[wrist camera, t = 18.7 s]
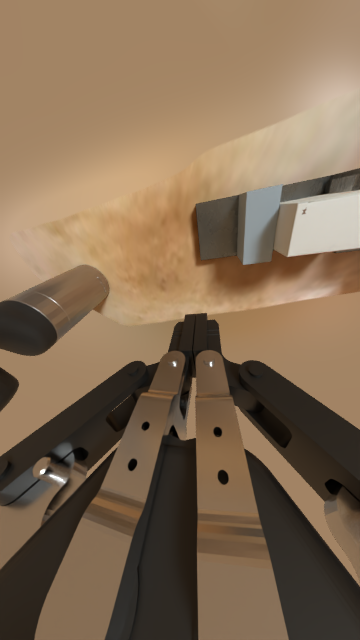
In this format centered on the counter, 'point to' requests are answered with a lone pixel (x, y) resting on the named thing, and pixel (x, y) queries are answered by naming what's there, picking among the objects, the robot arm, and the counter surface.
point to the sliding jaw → (257, 224)
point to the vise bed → (222, 214)
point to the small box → (318, 224)
